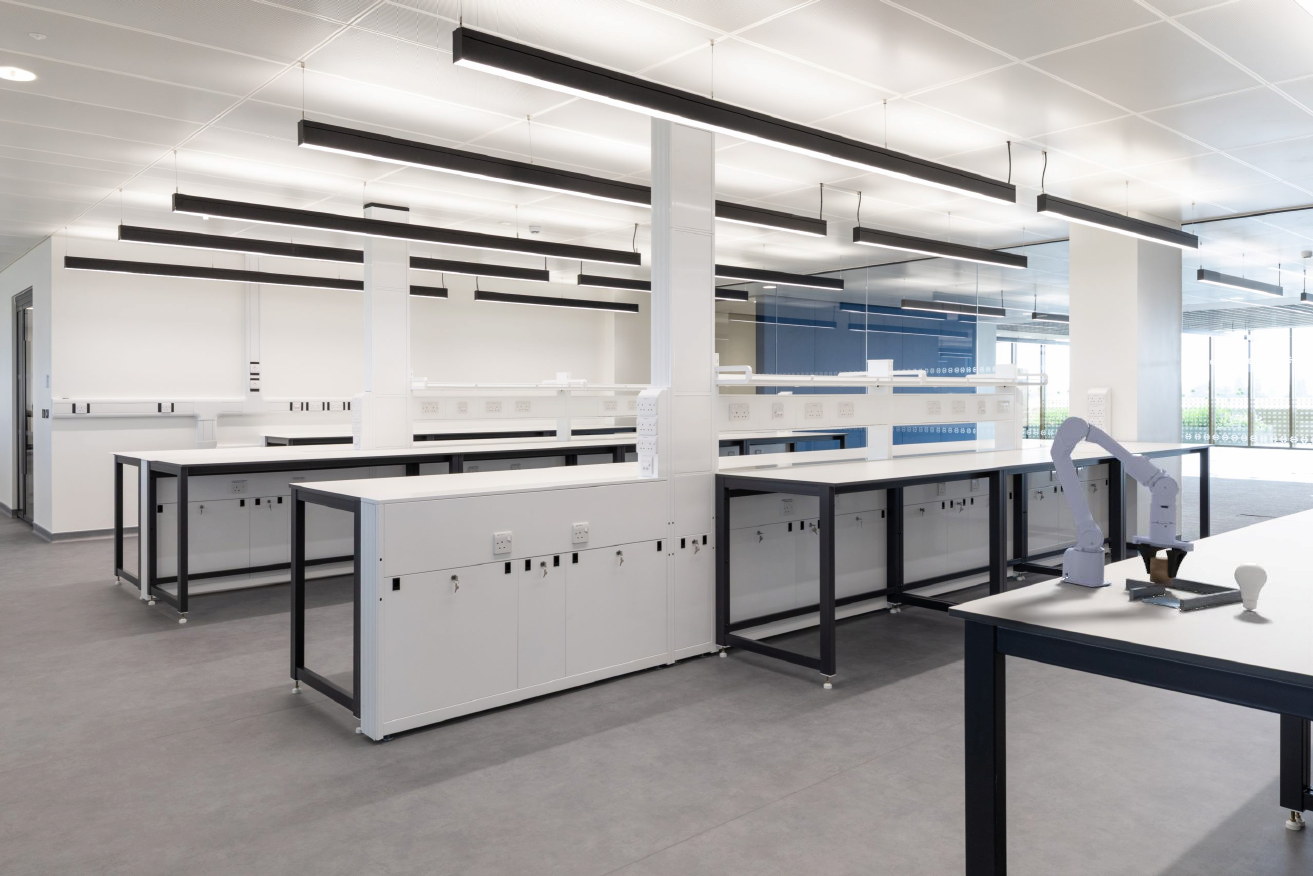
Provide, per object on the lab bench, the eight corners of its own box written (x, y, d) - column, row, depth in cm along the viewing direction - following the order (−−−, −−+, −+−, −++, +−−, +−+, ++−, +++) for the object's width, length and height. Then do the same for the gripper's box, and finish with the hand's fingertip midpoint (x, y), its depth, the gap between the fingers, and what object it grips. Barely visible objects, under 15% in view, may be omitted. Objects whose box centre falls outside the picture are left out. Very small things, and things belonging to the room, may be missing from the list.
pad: (1141, 601, 203) (1142, 599, 203) (1162, 597, 206) (1162, 596, 206) (1175, 608, 196) (1175, 606, 196) (1196, 604, 199) (1196, 603, 199)
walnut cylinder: (1145, 581, 217) (1146, 557, 217) (1157, 579, 219) (1158, 556, 219) (1164, 584, 212) (1165, 561, 212) (1176, 583, 215) (1177, 559, 215)
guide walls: (1096, 592, 212) (1097, 582, 212) (1156, 583, 223) (1157, 574, 223) (1184, 610, 193) (1184, 600, 193) (1244, 600, 204) (1245, 590, 204)
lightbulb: (1227, 609, 195) (1228, 561, 195) (1243, 606, 198) (1245, 559, 197) (1255, 614, 190) (1257, 566, 189) (1272, 612, 192) (1273, 564, 192)
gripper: (1201, 525, 211) (1200, 579, 211) (1144, 518, 224) (1143, 569, 224) (1184, 526, 207) (1183, 581, 208) (1127, 519, 220) (1126, 571, 221)
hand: (1161, 575), depth 216 cm, fingers closed on walnut cylinder, 5 cm apart
